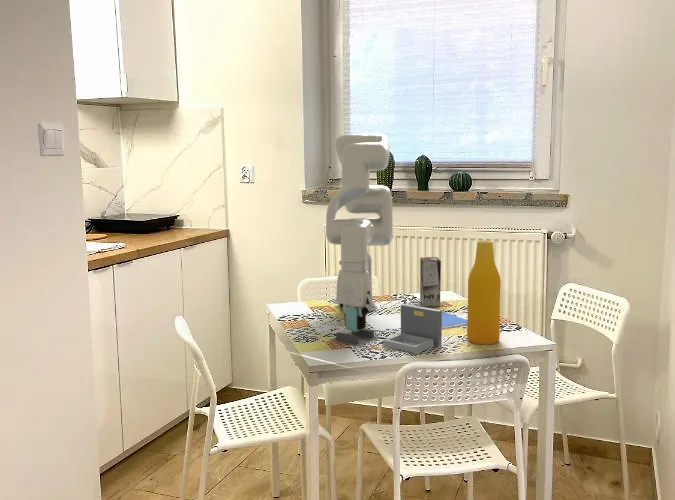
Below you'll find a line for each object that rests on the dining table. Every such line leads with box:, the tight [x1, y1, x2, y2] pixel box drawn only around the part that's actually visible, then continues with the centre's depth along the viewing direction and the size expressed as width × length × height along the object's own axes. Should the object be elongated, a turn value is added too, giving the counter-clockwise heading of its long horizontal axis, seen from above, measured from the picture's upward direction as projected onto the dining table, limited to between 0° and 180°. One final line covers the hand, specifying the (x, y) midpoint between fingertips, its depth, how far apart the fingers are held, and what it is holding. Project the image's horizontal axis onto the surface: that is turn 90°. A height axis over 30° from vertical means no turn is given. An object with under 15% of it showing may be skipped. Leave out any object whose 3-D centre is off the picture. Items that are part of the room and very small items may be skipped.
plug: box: [344, 305, 366, 332], centre depth 200 cm, size 4×4×8 cm
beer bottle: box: [466, 240, 502, 345], centre depth 196 cm, size 9×9×29 cm
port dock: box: [382, 303, 443, 355], centre depth 193 cm, size 13×12×10 cm
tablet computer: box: [435, 308, 468, 330], centre depth 221 cm, size 19×13×1 cm, turn 29°
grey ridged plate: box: [329, 328, 382, 347], centre depth 200 cm, size 11×11×2 cm
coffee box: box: [419, 256, 442, 307], centre depth 241 cm, size 9×6×16 cm
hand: (355, 326), depth 200 cm, fingers closed on plug, 4 cm apart
